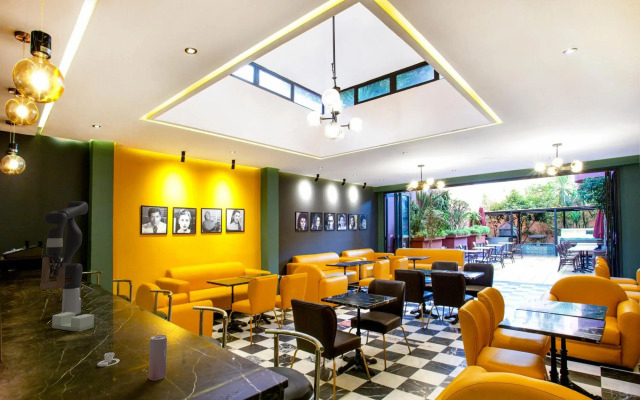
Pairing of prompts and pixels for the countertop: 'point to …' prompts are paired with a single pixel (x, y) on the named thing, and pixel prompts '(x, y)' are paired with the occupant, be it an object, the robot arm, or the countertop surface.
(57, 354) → the countertop surface
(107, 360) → the teacup and saucer
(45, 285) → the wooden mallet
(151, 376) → the beverage can
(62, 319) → the slotted beam
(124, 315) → the countertop surface
